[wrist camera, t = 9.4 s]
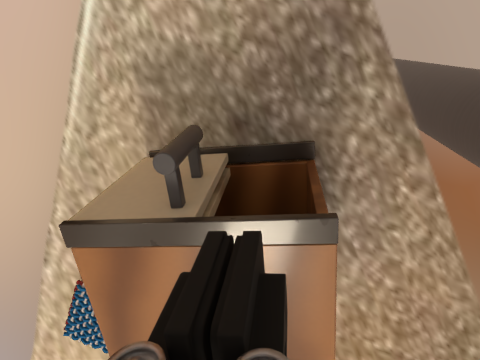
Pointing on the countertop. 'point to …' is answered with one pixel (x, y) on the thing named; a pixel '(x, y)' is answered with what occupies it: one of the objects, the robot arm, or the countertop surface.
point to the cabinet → (234, 223)
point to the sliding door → (162, 184)
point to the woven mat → (83, 320)
